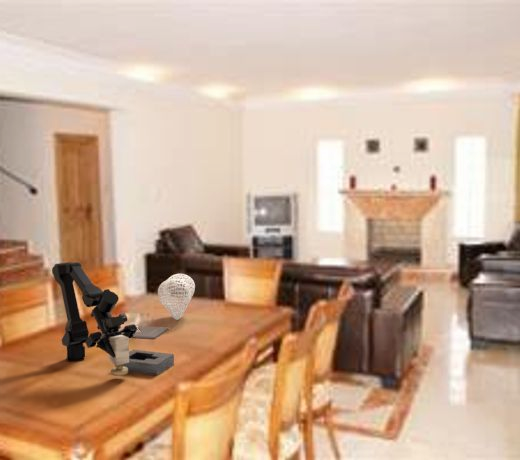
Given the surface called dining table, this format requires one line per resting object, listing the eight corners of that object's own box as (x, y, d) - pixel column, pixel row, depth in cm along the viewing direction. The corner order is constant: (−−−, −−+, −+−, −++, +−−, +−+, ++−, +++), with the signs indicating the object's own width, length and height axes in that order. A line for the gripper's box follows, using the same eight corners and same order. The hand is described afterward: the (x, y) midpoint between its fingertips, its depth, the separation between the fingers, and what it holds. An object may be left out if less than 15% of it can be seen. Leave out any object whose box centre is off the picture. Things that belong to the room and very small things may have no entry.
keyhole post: (107, 372, 213) (107, 337, 211) (122, 368, 217) (121, 334, 215) (116, 376, 208) (115, 340, 207) (131, 372, 213) (130, 337, 211)
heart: (169, 312, 312) (168, 271, 310) (197, 313, 311) (197, 271, 309) (155, 326, 285) (154, 281, 282) (186, 327, 283) (185, 281, 281)
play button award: (155, 336, 263) (114, 334, 268) (155, 340, 264) (114, 337, 268) (168, 327, 279) (129, 325, 284) (168, 330, 279) (130, 328, 284)
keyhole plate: (115, 370, 222) (114, 359, 222) (133, 359, 234) (133, 349, 234) (157, 375, 216) (156, 364, 216) (173, 364, 228) (173, 354, 228)
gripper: (88, 311, 206) (106, 348, 200) (134, 302, 219) (151, 337, 213) (78, 329, 213) (94, 365, 206) (123, 319, 226) (140, 354, 219)
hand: (121, 355), depth 211 cm, fingers closed on keyhole post, 5 cm apart
